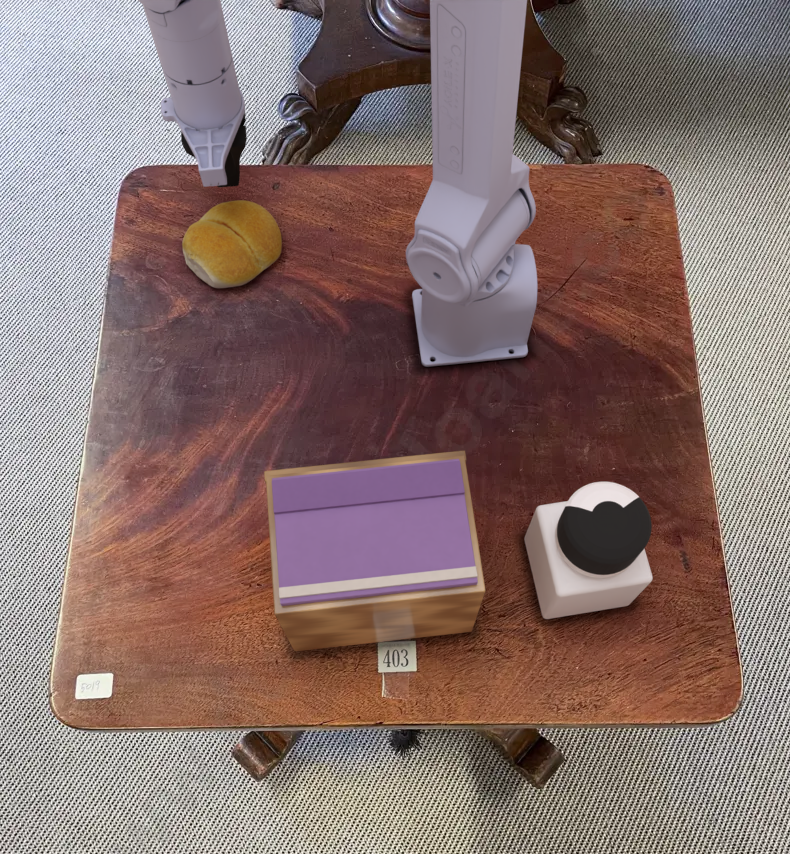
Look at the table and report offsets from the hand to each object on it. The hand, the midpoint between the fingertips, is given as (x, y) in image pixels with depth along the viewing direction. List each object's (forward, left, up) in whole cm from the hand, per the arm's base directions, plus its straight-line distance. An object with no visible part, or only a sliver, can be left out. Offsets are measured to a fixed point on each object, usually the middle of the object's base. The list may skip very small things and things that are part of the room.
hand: (228, 181), depth 82 cm
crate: (-10, +40, -2) cm, 42 cm away
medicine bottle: (-26, +41, -2) cm, 49 cm away
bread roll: (0, +7, -2) cm, 7 cm away
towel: (-10, +40, +10) cm, 43 cm away
